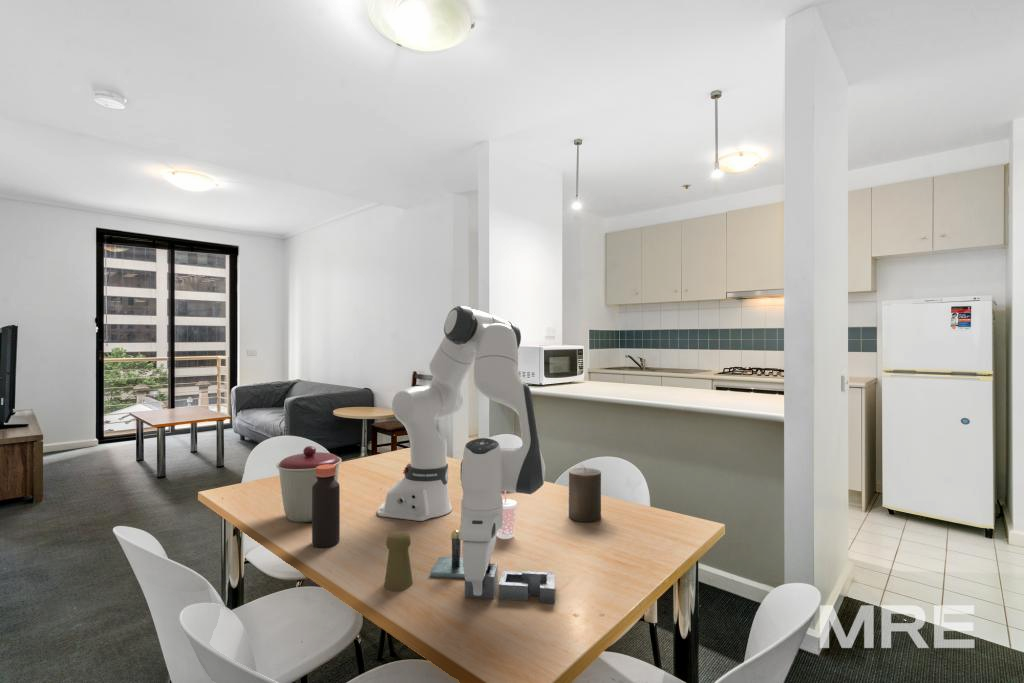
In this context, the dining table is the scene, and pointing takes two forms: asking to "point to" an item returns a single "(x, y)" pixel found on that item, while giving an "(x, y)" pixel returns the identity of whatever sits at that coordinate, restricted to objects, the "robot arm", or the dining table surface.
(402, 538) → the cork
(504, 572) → the chain tail
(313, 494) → the bottle
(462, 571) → the grey plate with post
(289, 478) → the canister
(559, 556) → the dining table surface
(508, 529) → the beverage cup
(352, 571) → the dining table surface
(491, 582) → the end link
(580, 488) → the pillar candle
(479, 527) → the robot arm
